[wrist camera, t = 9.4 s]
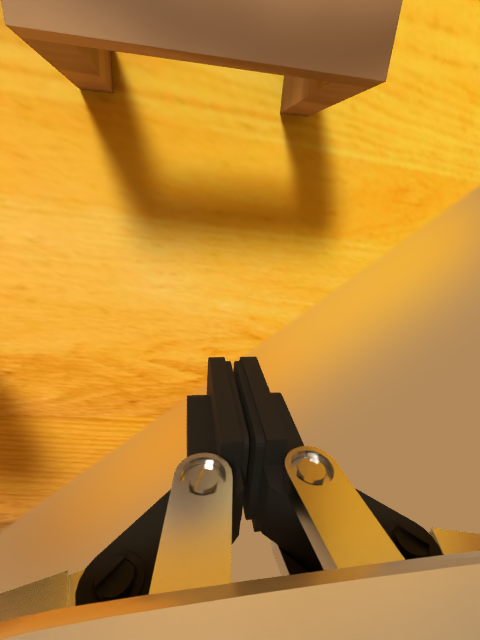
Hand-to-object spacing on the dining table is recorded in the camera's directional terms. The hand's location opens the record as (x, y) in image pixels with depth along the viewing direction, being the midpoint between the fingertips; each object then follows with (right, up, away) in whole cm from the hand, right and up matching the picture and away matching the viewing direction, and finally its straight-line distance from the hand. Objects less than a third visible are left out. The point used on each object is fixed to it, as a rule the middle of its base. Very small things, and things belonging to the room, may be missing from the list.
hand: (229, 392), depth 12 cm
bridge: (-2, +18, +9) cm, 21 cm away
